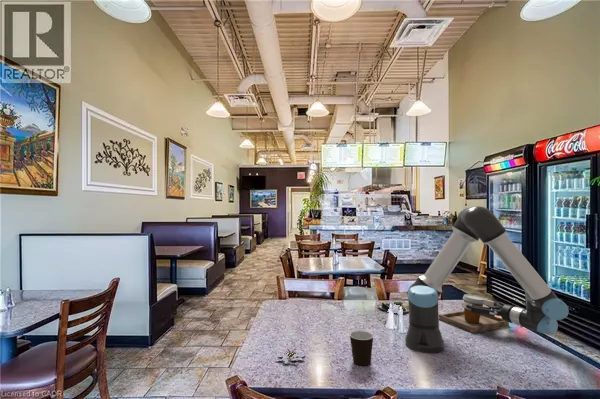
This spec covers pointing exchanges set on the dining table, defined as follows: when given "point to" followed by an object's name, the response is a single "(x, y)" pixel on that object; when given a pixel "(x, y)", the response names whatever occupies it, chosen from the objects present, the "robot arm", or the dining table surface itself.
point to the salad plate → (386, 306)
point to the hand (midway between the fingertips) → (472, 302)
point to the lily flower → (290, 353)
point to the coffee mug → (361, 347)
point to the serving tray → (483, 325)
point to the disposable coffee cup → (476, 301)
